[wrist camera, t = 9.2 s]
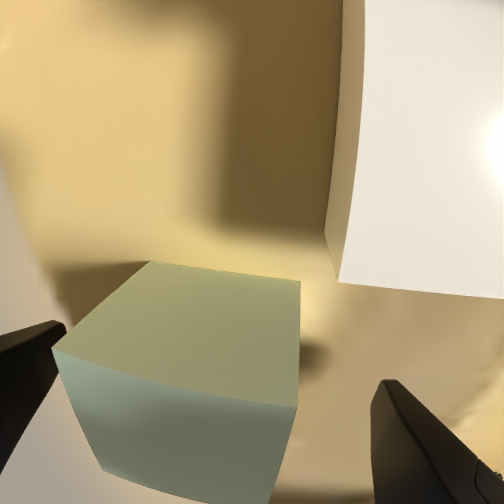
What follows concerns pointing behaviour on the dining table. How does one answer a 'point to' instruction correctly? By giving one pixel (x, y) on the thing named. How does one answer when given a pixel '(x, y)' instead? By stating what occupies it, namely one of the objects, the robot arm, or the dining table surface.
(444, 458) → the robot arm
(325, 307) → the dining table surface
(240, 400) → the sage cube
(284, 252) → the dining table surface
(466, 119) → the base slab
